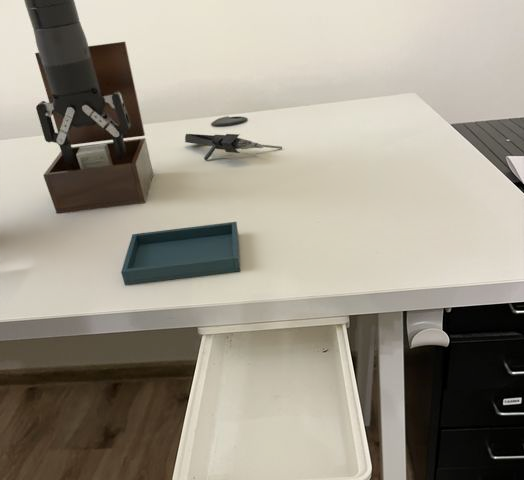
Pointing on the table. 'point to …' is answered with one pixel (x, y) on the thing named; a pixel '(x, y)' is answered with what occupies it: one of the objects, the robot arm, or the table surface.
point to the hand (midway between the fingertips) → (97, 161)
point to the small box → (94, 156)
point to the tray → (182, 253)
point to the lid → (105, 93)
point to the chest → (101, 180)
